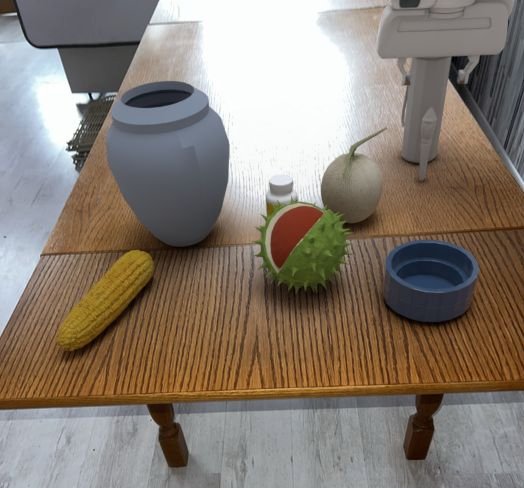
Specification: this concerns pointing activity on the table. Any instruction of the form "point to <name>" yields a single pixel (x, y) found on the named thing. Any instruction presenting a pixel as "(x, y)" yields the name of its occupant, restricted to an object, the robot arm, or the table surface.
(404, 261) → the bowl
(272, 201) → the supplement bottle
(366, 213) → the fruit
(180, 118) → the vase
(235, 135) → the table surface
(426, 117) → the pen
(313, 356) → the table surface
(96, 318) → the food
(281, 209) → the chestnut
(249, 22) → the table surface
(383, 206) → the table surface
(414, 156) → the water bottle
